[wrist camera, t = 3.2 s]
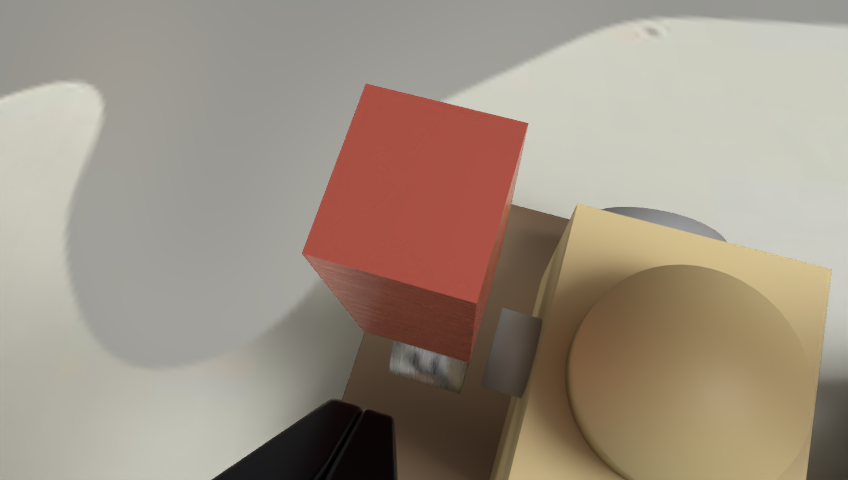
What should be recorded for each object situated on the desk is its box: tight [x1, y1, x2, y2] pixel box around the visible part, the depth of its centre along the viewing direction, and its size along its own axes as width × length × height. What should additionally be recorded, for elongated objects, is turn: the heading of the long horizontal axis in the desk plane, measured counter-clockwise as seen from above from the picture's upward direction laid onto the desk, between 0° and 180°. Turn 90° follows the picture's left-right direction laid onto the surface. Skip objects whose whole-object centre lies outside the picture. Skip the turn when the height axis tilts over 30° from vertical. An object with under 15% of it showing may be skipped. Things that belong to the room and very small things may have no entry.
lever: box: [302, 84, 528, 394], centre depth 11 cm, size 2×2×10 cm
